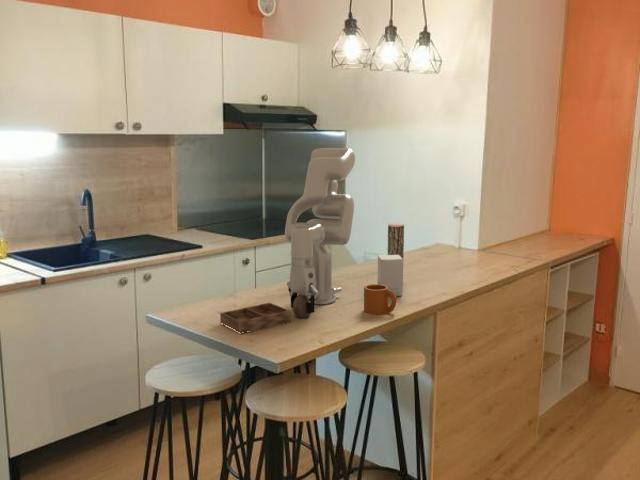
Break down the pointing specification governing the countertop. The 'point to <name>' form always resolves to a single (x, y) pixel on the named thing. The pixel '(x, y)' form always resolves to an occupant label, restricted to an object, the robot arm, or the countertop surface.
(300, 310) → the vase
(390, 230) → the bark covered log
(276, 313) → the divided wooden tray
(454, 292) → the countertop surface
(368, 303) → the mug
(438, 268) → the countertop surface
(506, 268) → the countertop surface
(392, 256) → the supplement box
